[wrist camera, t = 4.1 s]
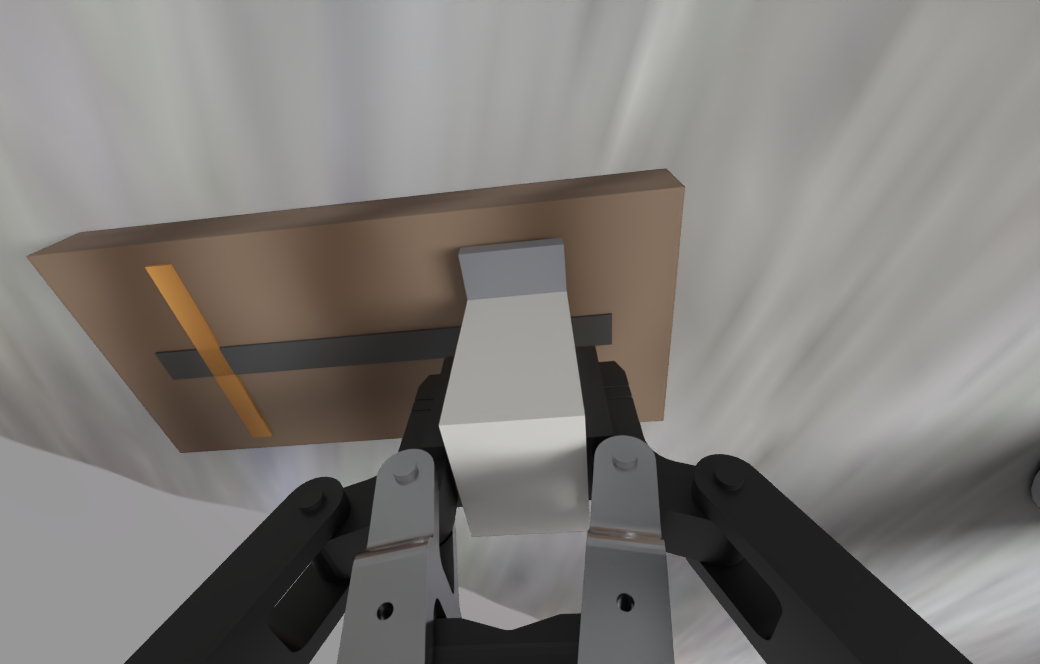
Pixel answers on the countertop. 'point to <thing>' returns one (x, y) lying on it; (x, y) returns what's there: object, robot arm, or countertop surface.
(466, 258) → the fader
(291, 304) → the board
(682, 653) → the countertop surface
